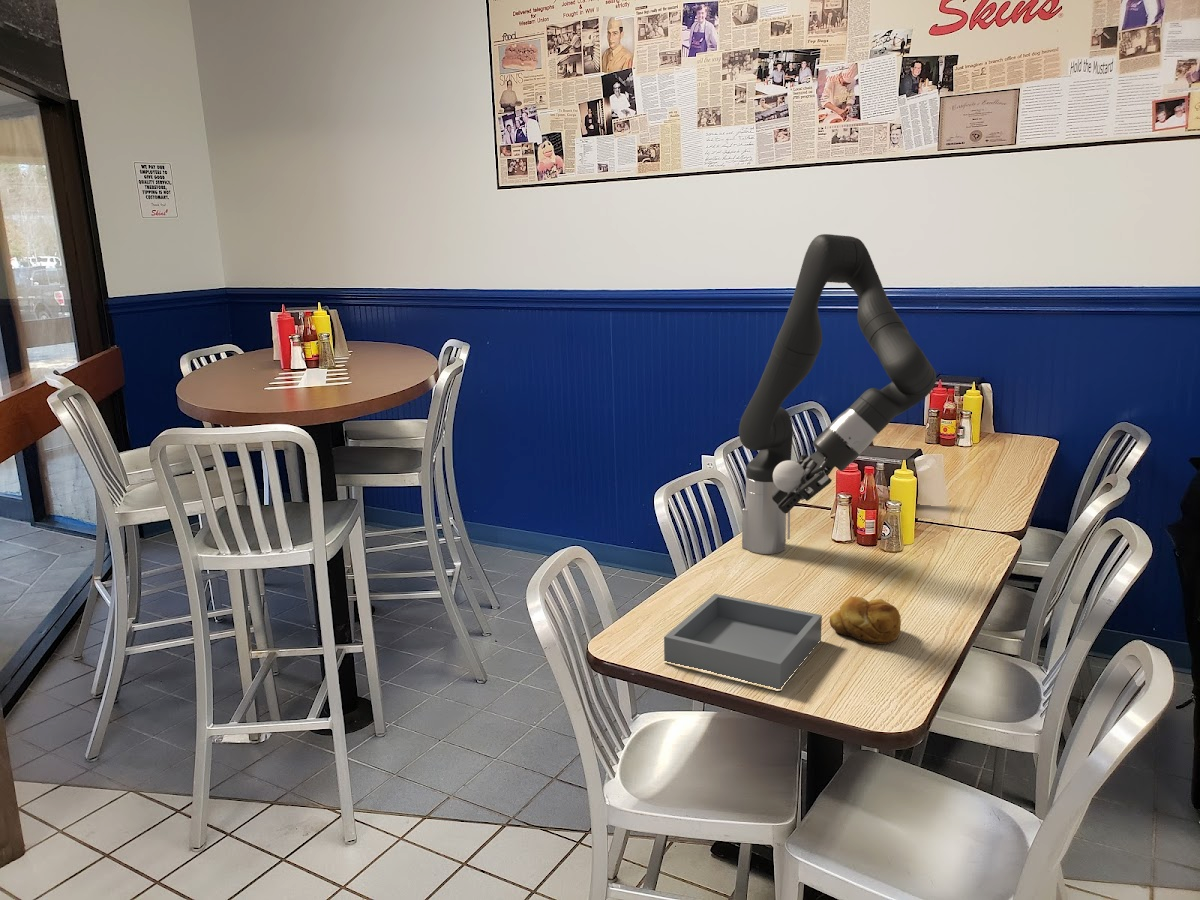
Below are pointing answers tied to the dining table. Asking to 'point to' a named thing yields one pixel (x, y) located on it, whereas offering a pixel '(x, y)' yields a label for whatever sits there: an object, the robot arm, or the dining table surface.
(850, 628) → the bread roll
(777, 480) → the lollipop
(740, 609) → the tray
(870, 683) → the dining table surface
